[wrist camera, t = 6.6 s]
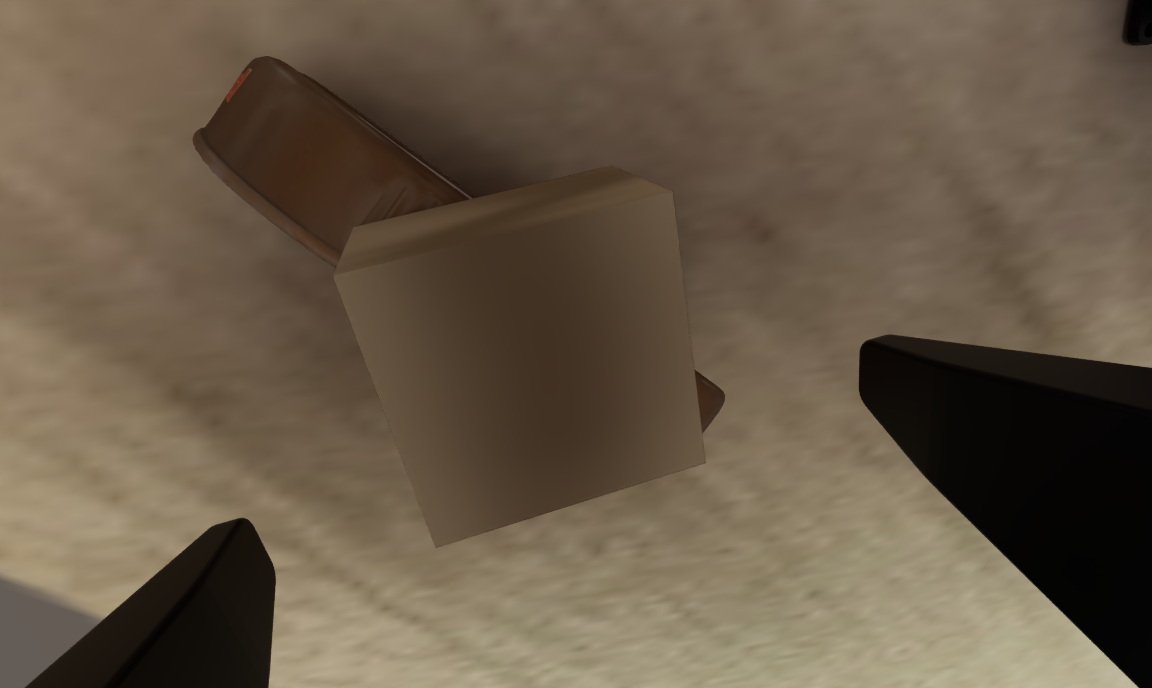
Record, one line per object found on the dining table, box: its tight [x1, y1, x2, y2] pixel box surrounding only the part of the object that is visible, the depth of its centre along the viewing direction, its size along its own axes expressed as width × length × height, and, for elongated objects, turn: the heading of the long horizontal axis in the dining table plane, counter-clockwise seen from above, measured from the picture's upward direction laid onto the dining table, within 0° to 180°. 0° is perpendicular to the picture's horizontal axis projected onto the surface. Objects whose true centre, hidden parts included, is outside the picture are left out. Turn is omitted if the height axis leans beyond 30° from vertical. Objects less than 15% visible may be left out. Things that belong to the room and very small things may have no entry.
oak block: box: [333, 166, 706, 548], centre depth 11 cm, size 5×5×3 cm
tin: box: [193, 56, 725, 433], centre depth 17 cm, size 15×3×8 cm, turn 50°
